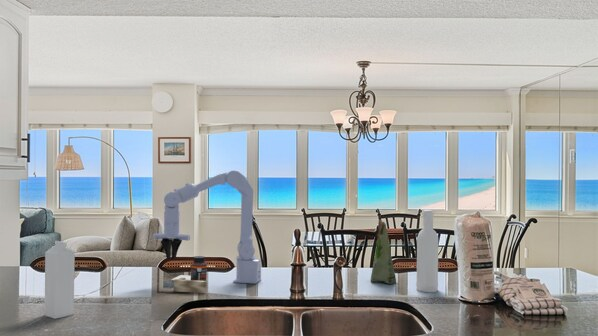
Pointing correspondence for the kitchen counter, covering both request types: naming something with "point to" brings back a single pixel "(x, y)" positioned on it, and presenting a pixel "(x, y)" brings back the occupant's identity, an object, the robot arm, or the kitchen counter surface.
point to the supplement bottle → (199, 269)
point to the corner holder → (190, 285)
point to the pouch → (383, 258)
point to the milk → (59, 281)
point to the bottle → (427, 255)
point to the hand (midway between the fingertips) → (171, 258)
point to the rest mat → (182, 277)
